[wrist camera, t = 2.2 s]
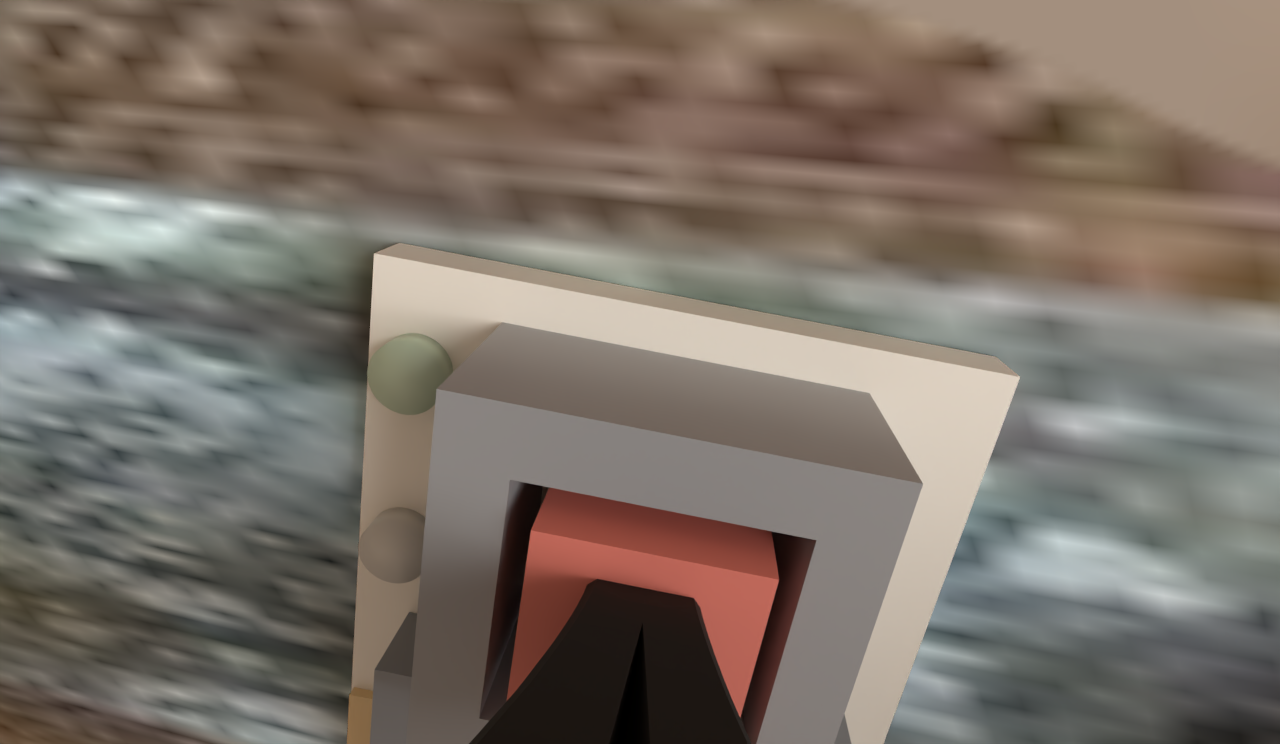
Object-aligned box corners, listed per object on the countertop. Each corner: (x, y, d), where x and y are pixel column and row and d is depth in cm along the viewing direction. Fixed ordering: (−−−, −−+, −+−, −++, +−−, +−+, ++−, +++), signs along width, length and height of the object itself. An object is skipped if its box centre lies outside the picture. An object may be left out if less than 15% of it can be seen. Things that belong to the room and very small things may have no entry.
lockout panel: (995, 356, 12) (1126, 465, 8) (784, 946, 17) (807, 1184, 13) (399, 242, 12) (264, 298, 9) (360, 857, 17) (263, 1066, 13)
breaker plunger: (761, 466, 12) (779, 579, 9) (721, 621, 13) (725, 768, 10) (573, 429, 12) (530, 529, 9) (548, 587, 13) (503, 723, 10)
